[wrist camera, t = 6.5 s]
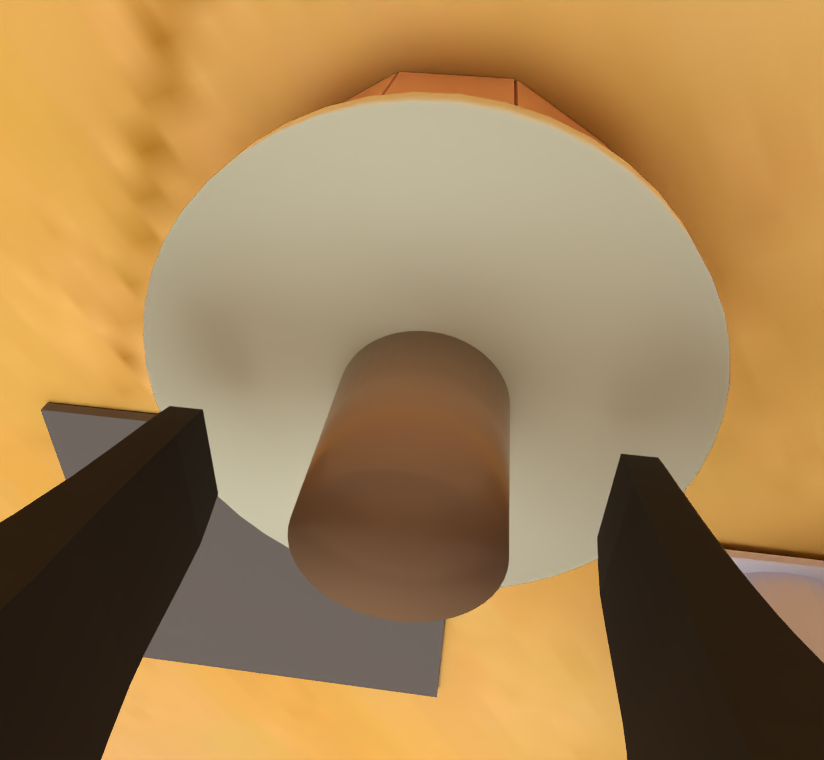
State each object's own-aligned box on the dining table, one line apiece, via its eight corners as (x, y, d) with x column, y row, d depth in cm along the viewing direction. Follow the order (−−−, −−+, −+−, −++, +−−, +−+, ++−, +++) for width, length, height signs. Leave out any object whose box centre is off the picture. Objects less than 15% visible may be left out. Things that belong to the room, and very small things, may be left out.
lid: (826, 136, 11) (997, 261, 7) (629, 596, 18) (661, 786, 14) (115, 54, 12) (-85, 128, 8) (191, 529, 19) (105, 694, 15)
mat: (462, 447, 22) (462, 455, 21) (437, 688, 30) (436, 697, 29) (47, 402, 23) (40, 409, 22) (132, 647, 31) (128, 655, 30)
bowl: (681, 89, 15) (736, 148, 11) (595, 436, 21) (612, 549, 17) (243, 61, 16) (161, 108, 12) (277, 403, 22) (229, 504, 18)
